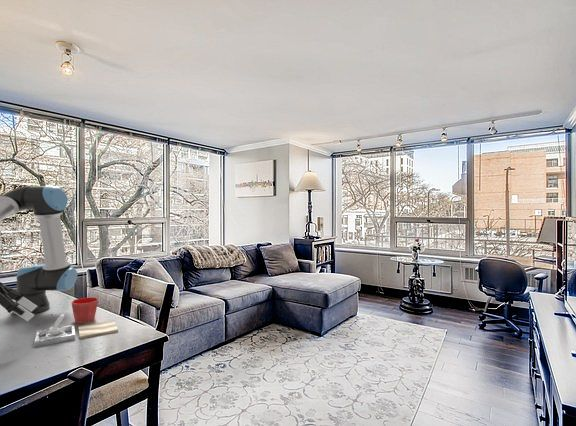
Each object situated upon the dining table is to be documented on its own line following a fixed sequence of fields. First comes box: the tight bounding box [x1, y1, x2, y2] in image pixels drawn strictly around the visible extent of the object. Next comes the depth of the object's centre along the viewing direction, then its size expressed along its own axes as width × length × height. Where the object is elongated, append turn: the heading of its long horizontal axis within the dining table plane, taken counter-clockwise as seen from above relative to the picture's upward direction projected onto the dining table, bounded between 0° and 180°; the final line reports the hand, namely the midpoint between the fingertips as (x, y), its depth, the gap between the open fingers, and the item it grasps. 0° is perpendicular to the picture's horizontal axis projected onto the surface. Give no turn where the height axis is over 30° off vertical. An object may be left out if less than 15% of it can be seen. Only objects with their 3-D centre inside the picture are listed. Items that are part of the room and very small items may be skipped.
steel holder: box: [33, 324, 76, 347], centre depth 131 cm, size 13×13×2 cm
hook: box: [43, 313, 68, 339], centre depth 131 cm, size 8×12×7 cm
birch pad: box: [77, 320, 119, 340], centre depth 140 cm, size 14×14×1 cm
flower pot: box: [71, 297, 99, 324], centre depth 152 cm, size 11×11×10 cm
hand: (32, 313), depth 126 cm, fingers open, 13 cm apart
